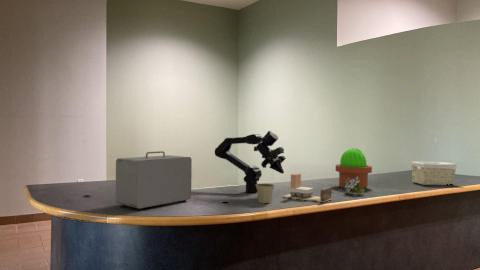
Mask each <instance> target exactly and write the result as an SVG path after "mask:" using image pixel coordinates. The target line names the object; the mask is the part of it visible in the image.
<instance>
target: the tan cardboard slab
mask: <svg viewBox="0 0 480 270" xmlns="http://www.w3.org/2000/svg"><path fill="white" fill-rule="evenodd" d="M283 197H285V198H284V199H288V198H292V199H291V200H296V199H300V200H299V201H304V200H310V201H309V202H312V201H318V202H317V203H320V202H326V201H328V200H331V199H333V198H332V187H331V186H330V187H329V186H327V187H324V188H321V189H320V196H317V195H316V196H315V195H311V196H309V197H306V198H304V197H303V196H300V197H297V195H295V196H291V195H290V193H288V194H284V195H282V198H283ZM331 201H332V200H331ZM328 202H329V201H328ZM326 203H327V202H326Z"/></svg>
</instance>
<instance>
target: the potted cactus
mask: <svg viewBox="0 0 480 270" xmlns="http://www.w3.org/2000/svg"><path fill="white" fill-rule="evenodd" d="M372 171H373V167H372V166H371V165H369V164H368V165H367V160H366V156H365V154H364V153H363V151H362V150H360V149H358V148H350V149H346V150H345V151H344V152H343V153H342V155H341V158H340V163H339V164H335V172H338V186H339V188H342V187H344V188H343V189H346V188H345V186H346V184H347V183H348V182H347V183H346V184H345V182H346V180H347V179H350V180H352V179H354V178H356V177H358V180H360V182H359V187H363V188H365V189H367V188H368V184H369V183H368V182H369V174H371V173H372ZM350 180H349V181H350ZM358 180H357V181H358ZM366 185H367V188H366ZM364 186H365V187H364ZM352 190H355V188H353V189H352Z"/></svg>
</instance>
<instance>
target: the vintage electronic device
mask: <svg viewBox="0 0 480 270" xmlns="http://www.w3.org/2000/svg"><path fill="white" fill-rule="evenodd" d="M148 154H162V155H153V156H149V155H148ZM192 161H193V160H192V158H191V157H190V156H180V155H169V154H167V155H165V151H163V150H162V151H161V150H160V151H158V150H157V151H147V152H146V153H145V156H137V157H135V156H134V157H118V158H116V160H115V203H116V204H118V205H121V207H123V208H126V207H131V208H134V209H135V208H136V209H137V211H139V212H141V210H142V211H144V209H146V208H150V207H154V206H160V205H167V204H172V203H176V202H181V203H187V201H188V200H190V199H192Z"/></svg>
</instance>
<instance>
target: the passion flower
mask: <svg viewBox="0 0 480 270" xmlns="http://www.w3.org/2000/svg"><path fill="white" fill-rule="evenodd" d="M349 180H350V179H347V180H346V182H345V184H346V183H347V182H348V183H347V184H346V186H345V188H344V189H345V192H346V193H348V194H350V193H351V192H352V190H355V194H356V195H359V196H360V194H361V196H362V195H363V194H364V193H365V191H366V190H368V187H367V185H366V188H365V189H364V188H363V187H359V182H360V180H358V177H356V178H354V179H352V180H350V181H349ZM357 180H358V181H357ZM364 187H365V186H364ZM353 188H355V189H353Z"/></svg>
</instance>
